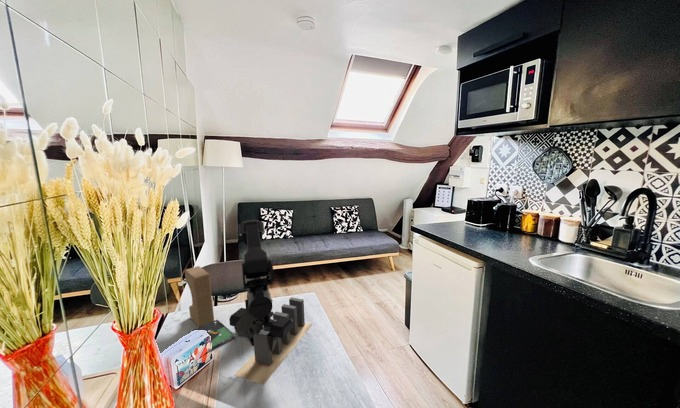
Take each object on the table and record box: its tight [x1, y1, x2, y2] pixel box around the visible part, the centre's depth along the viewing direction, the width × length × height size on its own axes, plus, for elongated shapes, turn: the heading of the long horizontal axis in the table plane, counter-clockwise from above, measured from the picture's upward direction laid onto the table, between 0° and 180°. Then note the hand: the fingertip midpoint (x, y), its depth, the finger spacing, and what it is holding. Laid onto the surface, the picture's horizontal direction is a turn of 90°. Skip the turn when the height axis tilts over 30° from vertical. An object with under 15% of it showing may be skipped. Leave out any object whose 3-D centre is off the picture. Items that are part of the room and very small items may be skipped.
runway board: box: [234, 322, 313, 386], centre depth 90 cm, size 10×29×1 cm, turn 158°
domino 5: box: [272, 311, 290, 345], centre depth 92 cm, size 2×5×10 cm, turn 69°
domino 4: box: [280, 303, 298, 336], centre depth 96 cm, size 2×5×10 cm, turn 69°
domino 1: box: [253, 329, 272, 366], centre depth 83 cm, size 2×5×10 cm, turn 69°
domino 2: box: [263, 326, 282, 355], centre depth 87 cm, size 2×5×10 cm, turn 69°
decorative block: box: [184, 265, 215, 329], centre depth 107 cm, size 11×6×20 cm, turn 43°
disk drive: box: [188, 319, 236, 351], centre depth 97 cm, size 10×3×15 cm
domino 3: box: [288, 296, 306, 327], centre depth 101 cm, size 2×5×10 cm, turn 69°
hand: (262, 347), depth 83 cm, fingers open, 6 cm apart
